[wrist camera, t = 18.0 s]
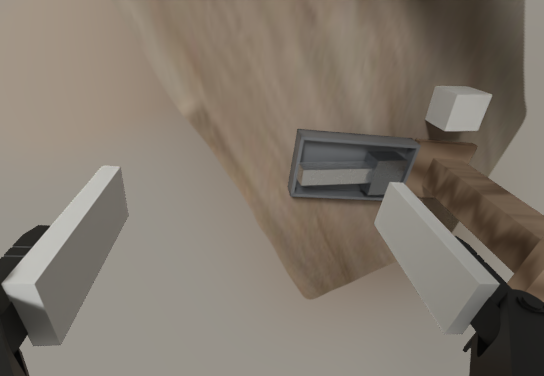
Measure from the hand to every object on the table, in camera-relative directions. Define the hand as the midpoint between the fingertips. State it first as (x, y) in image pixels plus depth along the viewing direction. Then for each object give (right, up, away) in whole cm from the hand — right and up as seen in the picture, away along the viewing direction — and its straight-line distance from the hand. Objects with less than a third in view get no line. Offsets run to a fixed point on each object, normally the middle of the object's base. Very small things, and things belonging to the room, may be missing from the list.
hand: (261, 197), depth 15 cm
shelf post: (+33, +4, +45) cm, 55 cm away
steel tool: (+14, +4, +40) cm, 42 cm away
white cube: (+32, +16, +38) cm, 52 cm away
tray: (+15, +5, +42) cm, 45 cm away
